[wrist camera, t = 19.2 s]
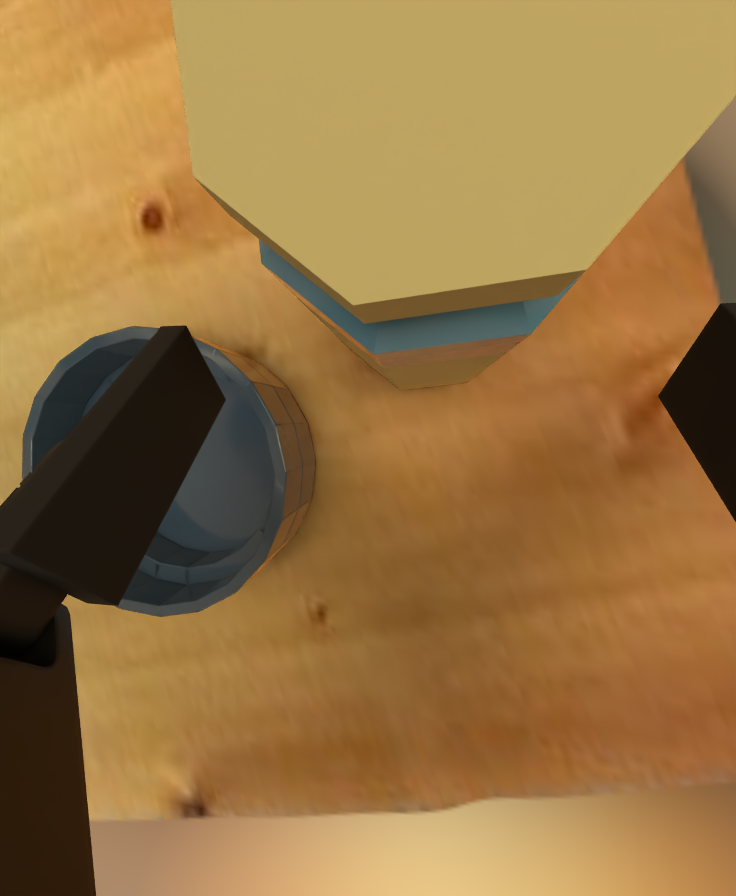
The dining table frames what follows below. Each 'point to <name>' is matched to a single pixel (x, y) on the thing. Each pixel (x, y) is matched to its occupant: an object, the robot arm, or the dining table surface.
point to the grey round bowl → (198, 472)
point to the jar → (443, 152)
